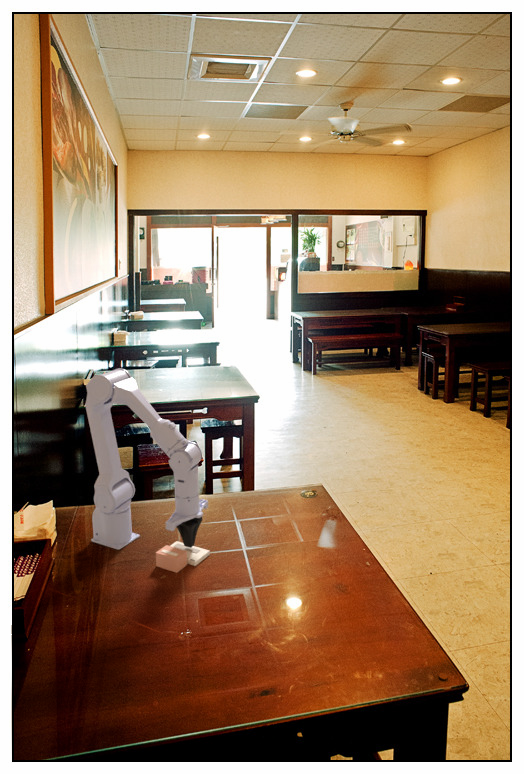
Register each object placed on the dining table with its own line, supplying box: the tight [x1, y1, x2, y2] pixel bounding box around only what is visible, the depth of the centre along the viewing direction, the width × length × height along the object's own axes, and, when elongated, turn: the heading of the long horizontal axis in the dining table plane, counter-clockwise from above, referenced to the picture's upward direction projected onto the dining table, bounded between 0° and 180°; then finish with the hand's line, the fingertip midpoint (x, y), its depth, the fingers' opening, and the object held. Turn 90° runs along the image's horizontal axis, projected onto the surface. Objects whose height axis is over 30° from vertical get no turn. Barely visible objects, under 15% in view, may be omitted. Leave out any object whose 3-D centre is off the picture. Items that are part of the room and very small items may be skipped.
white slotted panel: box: [169, 540, 211, 567], centre depth 135 cm, size 10×6×1 cm, turn 61°
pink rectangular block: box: [155, 544, 188, 574], centre depth 130 cm, size 6×4×4 cm, turn 61°
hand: (189, 545), depth 136 cm, fingers closed
